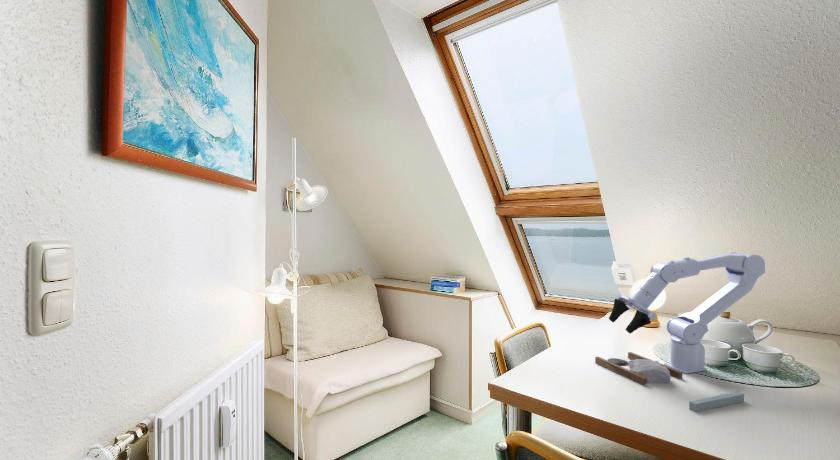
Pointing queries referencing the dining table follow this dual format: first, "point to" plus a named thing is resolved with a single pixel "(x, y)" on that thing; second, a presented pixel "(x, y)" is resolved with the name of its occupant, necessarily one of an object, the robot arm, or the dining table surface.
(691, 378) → the dining table surface
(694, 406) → the stop bar
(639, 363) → the stone block
